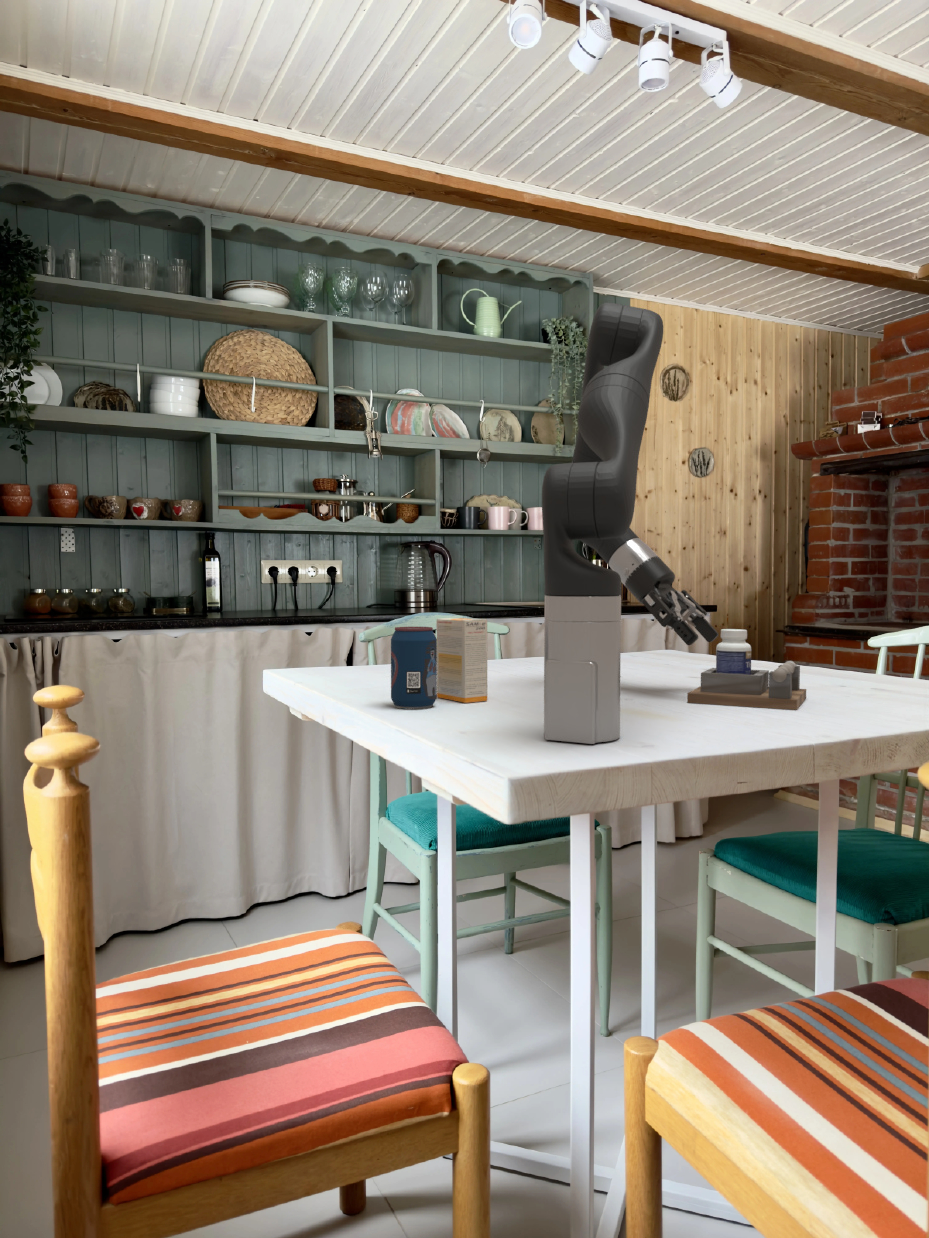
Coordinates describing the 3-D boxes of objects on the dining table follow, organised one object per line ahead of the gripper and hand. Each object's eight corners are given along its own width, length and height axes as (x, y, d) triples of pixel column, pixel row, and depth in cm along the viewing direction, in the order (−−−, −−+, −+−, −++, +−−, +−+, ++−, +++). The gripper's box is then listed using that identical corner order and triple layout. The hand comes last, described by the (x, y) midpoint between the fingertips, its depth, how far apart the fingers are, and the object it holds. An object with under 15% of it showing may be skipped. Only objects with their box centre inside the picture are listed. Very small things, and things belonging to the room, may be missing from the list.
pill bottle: (752, 692, 132) (753, 630, 132) (717, 692, 133) (718, 630, 133) (748, 688, 137) (749, 628, 137) (714, 687, 138) (715, 628, 138)
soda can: (392, 703, 131) (391, 626, 131) (436, 702, 132) (436, 626, 131) (389, 710, 124) (389, 628, 124) (436, 709, 125) (436, 628, 124)
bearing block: (796, 710, 125) (797, 669, 124) (687, 702, 132) (687, 664, 132) (806, 698, 137) (806, 661, 137) (705, 692, 144) (706, 657, 144)
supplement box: (489, 701, 134) (489, 618, 133) (464, 703, 131) (464, 619, 130) (459, 695, 140) (459, 616, 140) (435, 697, 138) (435, 617, 137)
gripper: (636, 554, 137) (703, 626, 131) (673, 555, 149) (736, 623, 142) (607, 586, 141) (671, 658, 134) (645, 585, 152) (705, 652, 146)
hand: (704, 640), depth 138 cm, fingers open, 8 cm apart
